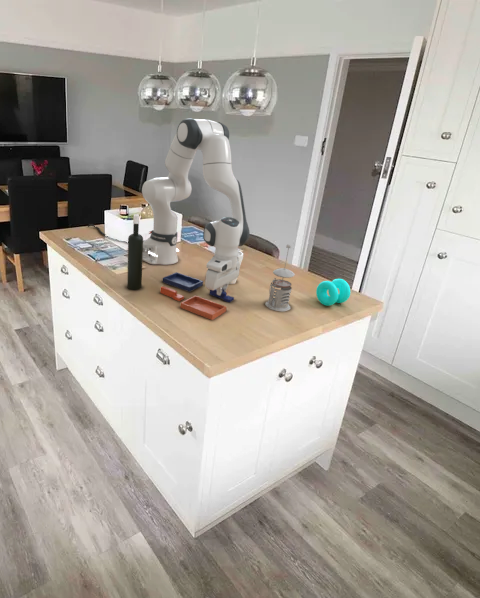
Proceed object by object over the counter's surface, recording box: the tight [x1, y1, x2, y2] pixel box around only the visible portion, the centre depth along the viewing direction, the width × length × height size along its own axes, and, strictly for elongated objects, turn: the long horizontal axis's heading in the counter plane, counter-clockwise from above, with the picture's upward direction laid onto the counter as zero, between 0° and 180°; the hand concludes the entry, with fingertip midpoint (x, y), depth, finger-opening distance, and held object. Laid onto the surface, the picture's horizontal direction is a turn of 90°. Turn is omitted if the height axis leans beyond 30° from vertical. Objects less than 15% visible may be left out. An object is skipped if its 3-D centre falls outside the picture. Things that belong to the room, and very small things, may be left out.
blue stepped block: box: [209, 289, 235, 303], centre depth 166 cm, size 10×3×3 cm, turn 53°
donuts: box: [315, 278, 351, 307], centre depth 167 cm, size 10×10×10 cm
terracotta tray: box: [179, 295, 228, 321], centre depth 155 cm, size 14×10×2 cm
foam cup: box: [229, 250, 244, 285], centre depth 181 cm, size 10×9×13 cm
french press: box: [265, 243, 296, 312], centre depth 157 cm, size 10×12×25 cm
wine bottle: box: [126, 213, 144, 291], centre depth 163 cm, size 6×6×30 cm
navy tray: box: [162, 272, 204, 292], centre depth 176 cm, size 14×10×2 cm
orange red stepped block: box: [160, 285, 185, 302], centre depth 164 cm, size 10×3×3 cm, turn 53°
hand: (221, 293), depth 166 cm, fingers closed on blue stepped block
